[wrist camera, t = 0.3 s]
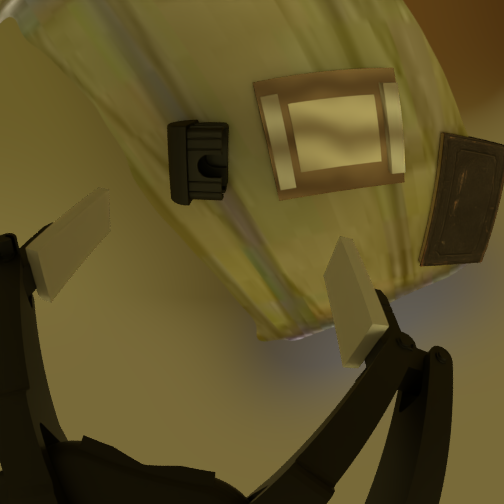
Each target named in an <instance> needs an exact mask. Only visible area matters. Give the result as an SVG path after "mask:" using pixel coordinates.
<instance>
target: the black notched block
mask: <svg viewBox="0 0 504 504" xmlns="http://www.w3.org/2000/svg"><path fill="white" fill-rule="evenodd" d="M228 135H229V126H228V124H227V123H220V122H201V123H198V120H185V121H178V122H173V123H170V124H168V126H167V136H168V158H169V175H170V190H171V199H172V200H173V201H174V202H175V203H177V204H180V205H188V206H189V205H190V203H191V201H192V200H193V199H201V200H222V199H223V194H222V193H225V191H226V187H227V183H228Z"/></svg>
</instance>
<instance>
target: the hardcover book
mask: <svg viewBox="0 0 504 504" xmlns="http://www.w3.org/2000/svg"><path fill="white" fill-rule="evenodd" d="M503 185H504V145H503V144H500V143H496V142H492V141H488V140H484V139H480V138H475V137H471V136H469V137H464V136H459V135H454V134H448V133H441V140H440V150H439V159H438V167H437V175H436V181H435V188H434V194H433V199H432V205H431V210H430V215H429V220H428V224H427V229H426V233H425V237H424V242H423V246H422V250H421V253H420V257H419V261H420V262H421V263H420V266H436V265H451V264H465V263H478V262H482V260H483V257H484V254H485V251H486V248H487V245H488V242H489V239H490V236H491V232H492V229H493V226H494V222H495V218H496V215H497V210H498V207H499V203H500V199H501V194H502V190H503Z"/></svg>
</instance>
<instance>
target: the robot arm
mask: <svg viewBox="0 0 504 504" xmlns="http://www.w3.org/2000/svg"><path fill="white" fill-rule="evenodd" d="M109 211H110V210H109V189H105V188H97V189H96V190H94V191H93V192H92V193H90V194H89V195H87V196H86V197H85V198H84V199H82V200H81V201H80V202H78V203H77V204H76V205H75V206H73V207H72V208H71V209H70V210H68V211H67V212H66V213H65V214H63V215H62V216H61V217H60V218H58V219H57V220H56V221H55V222H54V223H50V224H48V225H46V226H44V227H43V228H42V229H41V230H39V231H38V233H36V234H35V235H34V236H33V237H32V238H30V239H29V240H28V241H27V242H26V243H25V244H24V245H23V246H22V247H21V248H19V246H18V242H17V237H16V235H15V234H12V233H6V234H3V235H0V463H1V466H2V471H0V504H327V502H328V501H329V500H330V499H331V497H332V496H333V494H334V492H335V490H334V487H335V485H336V483H337V482H338V481H339V479H340V478H341V477H342V476H343V474H344V473H345V472H346V470H347V469H348V467H349V466H350V465H351V463H352V462H353V461H354V459H355V458H356V456H357V455H358V454H359V452H360V451H361V449H362V448H363V446H364V445H365V443H366V441H367V440H368V439H369V437H370V435H371V434H372V432H373V431H374V429H375V428H376V426H377V424H378V423H379V421H380V419H381V418H382V416H383V414H384V413H385V411H386V409H387V407H388V405H389V404H390V402H391V400H392V398H393V396H394V395H395V393H396V391H397V390H398V393H397V398H396V403H395V408H394V412H393V416H392V420H391V424H390V428H389V432H388V436H387V439H386V443H385V446H384V450H383V453H382V457H381V460H380V463H379V466H378V469H377V472H376V475H375V478H374V481H373V483H372V486H371V489H370V492H369V494H368V497H367V499H366V502H365V504H439V501H440V497H441V492H442V487H443V482H444V476H445V471H446V465H447V458H448V451H449V443H450V434H451V422H452V403H453V364H452V363H453V362H452V358H451V356H450V354H449V353H448V351H447V350H445V349H444V348H442V347H439V346H434V347H432V348H431V349H430V351H429V352H426V351H423V350H420V349H418V348H416V345H415V342H414V341H413V339H412V338H411V337H410V336H409V335H407V334H405V333H404V332H401V330H400V328H399V325H398V323H397V320H396V318H395V316H394V313H392V308H391V307H390V304H389V301H388V299H387V297H386V296H385V295H384V294H383V293H382V291H381V290H377V289H374V287H373V284H372V282H371V280H370V277H369V275H368V273H367V271H366V268H365V266H364V264H363V262H362V259H361V257H360V255H359V253H358V251H357V248H356V246H355V244H354V242H353V240H352V239H350V238H346V237H342V236H340V237H339V240H338V242H337V245H336V247H335V249H334V252H333V254H332V257H331V259H330V262H329V264H328V266H327V269H326V271H325V274H324V279H325V284H326V288H327V292H328V297H329V301H330V306H331V310H332V315H333V319H334V324H335V329H336V333H337V339H338V344H339V349H340V354H341V359H342V365H343V367H347V368H359V367H360V365H361V364H362V363H363V361H364V360H365V363H366V368H365V370H364V371H363V372H362V373H361V375H360V376H359V377H358V378H357V379H356V382H355V383H354V385H353V386H352V387H351V388H350V390H349V391H348V392H347V394H346V395H345V396H344V398H343V399H342V400H341V401H340V403H339V404H338V405H337V406H336V408H335V409H334V410H333V411H332V412H331V414H330V415H329V416H328V417H327V418H326V420H325V421H324V422H323V423H322V424H321V425H320V427H319V428H318V429H317V430H316V431H315V432H314V433H313V435H312V436H311V437H310V438H309V439H308V440H307V441H306V442H305V443H304V444H303V445H302V446H301V448H300V449H299V450H298V451H297V452H296V453H295V454H294V455H293V456H292V457H291V458H290V459H289V460H288V461H287V462H286V463H285V464H284V465H283V466H282V467H281V468H280V469H279V470H278V471H277V472H276V473H275V474H274V475H272V476H271V477H270V479H268V480H267V481H266V482H264V483H263V484H262V485H261V486H259V487H258V488H257V489H256V490H255V491H254V492H252V493H251V494H250V495H249V496H248V497H245V496H244V495H243V494H242V493H241V492H240V491H238V490H237V489H236V488H234V487H233V486H231V485H230V484H228V483H226V482H224V481H222V480H220V479H217V478H215V472H211V471H205V470H199V469H194V468H189V467H183V466H153V465H143V464H141V463H140V462H138V461H136V460H134V459H132V458H131V457H129V456H127V455H126V454H124V453H122V452H121V451H119V450H118V449H116V448H114V447H113V446H110V445H107V444H104V443H102V442H99V441H97V440H94V439H92V438H89V437H87V436H83V438H82V441H68V440H67V438H66V436H65V434H64V432H63V431H62V429H61V427H60V425H59V422H58V419H57V416H56V413H55V409H54V406H53V402H52V399H51V395H50V391H49V388H48V383H47V379H46V374H45V370H44V365H43V360H42V355H41V350H40V344H39V337H38V330H37V324H36V323H37V322H36V314H35V304H34V297H33V295H32V293H33V292H34V291H35V289H37V292H38V295H39V298H40V299H43V300H46V301H48V302H52V301H53V300H54V298H55V297H56V296H57V294H58V293H59V292H60V290H61V289H62V288H63V287H64V285H65V284H66V283H67V282H68V280H69V279H70V278H71V277H72V275H73V274H74V273H75V272H76V270H77V269H78V268H79V267H80V266H81V264H82V263H83V262H84V261H85V260H86V258H87V257H88V256H89V255H90V254H91V252H92V251H93V250H94V249H95V248H96V247H97V245H98V244H99V243H100V242H101V241H102V240H103V239H104V238H105V237H106V235H107V234H108V233H109V232H110V212H109Z"/></svg>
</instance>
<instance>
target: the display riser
mask: <svg viewBox="0 0 504 504" xmlns="http://www.w3.org/2000/svg"><path fill="white" fill-rule="evenodd" d="M253 86H254V90H255V94H256V98H257V102H258V106H259V110H260V115H261V119H262V123H263V128H264V132H265V136H266V141H267V145H268V150H269V154H270V159H271V163H272V168H273V173H274V177H275V182H276V187H277V192H278V196H279V201H281V200H287V199H292V198H298V197H304V196H310V195H317V194H323V193H329V192H336V191H343V190H349V189H356V188H363V187H371V186H378V185H386V184H394V183H402V182H404V173H405V153H404V137H403V125H402V115H401V106H400V99H399V91H398V84H397V83H396V80H395V74H394V68H364V69H346V70H334V71H323V72H314V73H306V74H299V75H292V76H286V77H280V78H274V79H268V80H263V81H258V82H253Z"/></svg>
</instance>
